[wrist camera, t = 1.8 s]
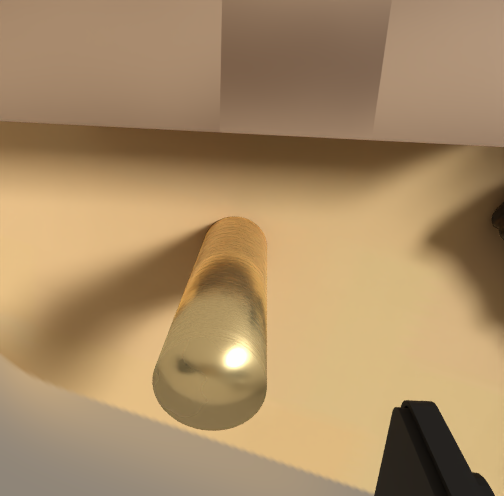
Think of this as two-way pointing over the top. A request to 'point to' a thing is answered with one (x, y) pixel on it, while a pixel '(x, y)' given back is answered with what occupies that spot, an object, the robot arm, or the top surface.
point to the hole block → (260, 67)
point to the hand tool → (499, 220)
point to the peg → (219, 333)
